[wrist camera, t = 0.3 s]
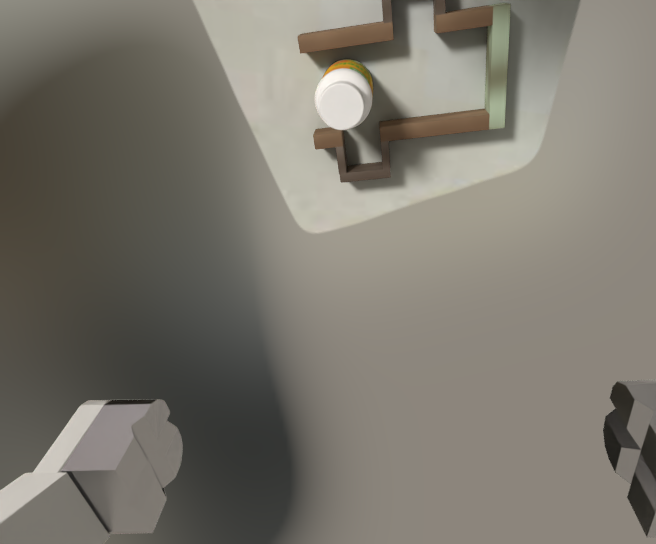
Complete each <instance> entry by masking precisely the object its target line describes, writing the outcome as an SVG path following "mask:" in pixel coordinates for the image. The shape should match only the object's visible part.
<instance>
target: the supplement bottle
mask: <svg viewBox="0 0 656 544" xmlns="http://www.w3.org/2000/svg"><path fill="white" fill-rule="evenodd" d="M372 101H373V81H372V77H371V74H370V72H369V71H368V69H367V68H366V67H365V66H364V65H363V64H361V63H360V62H358V61H355V60H352V59H343V60H339V61H337V62H335V63H334V64H332V65H331V66H330V67H329V68H328V69H327V71H326V72H325V74H324V76H323V77H322V79H321V81H320V82H319V84H318V86H317V89H316V93H315V106H316V110H317V112H318V114H319V116H320V117H321V119H322V120H323V121H324V122H325V123H326V124H327V125H328V126H330V127H331V128H333V129H336V130H347V129H351V128H354V127H356V126H358V125H359V124H361V123H362V122H363V121H364V120H365V119H366V117H367V116H368V114H369V112H370V110H371V107H372Z"/></svg>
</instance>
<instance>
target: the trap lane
mask: <svg viewBox="0 0 656 544" xmlns="http://www.w3.org/2000/svg"><path fill="white" fill-rule="evenodd" d="M433 6H434V31H435V32H436V33H443V32H450V31H457V30H464V29H471V28H477V27H484V26H487V48H486V83H485V109H478V110H470V111H462V112H454V113H445V114H437V115H429V116H421V117H412V118H404V119H396V120H388V121H380V122H379V128H380V140H381V151H382V162H376V163H367V164H358V165H349V166H348V164H347V156H346V148H345V140H344V132H343V130H336V129H333V128H331V127H330V128H322V129H316V130H315V132H314V135H313V137H314V144H315V149H324V148H332V147H336V154H337V161H338V168H339V174H340V180H341V182H351V181H360V180H370V179H380V178H389V177H391V175H390V156H389V143H388V141H393V140H402V139H411V138H419V137H428V136H437V135H445V134H454V133H463V132H472V131H480V130H489V129H498V128H504V127H505V107H506V87H507V67H508V48H509V28H510V8H511V4H508V3H500V4H494V5H487V6H481V7H474V8H467V9H461V10H454V11H448V12H445V0H433ZM382 8H383V22H376V23H369V24H363V25H356V26H350V27H343V28H337V29H330V30H324V31H317V32H311V33H304V34H300V35H299V36H298V42H299V49H300V53H307V52H314V51H321V50H328V49H334V48H341V47H348V46H355V45H362V44H368V43H375V42H382V41H389V40H394V39H393V23H392V8H391V0H382Z"/></svg>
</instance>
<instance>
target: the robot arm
mask: <svg viewBox="0 0 656 544" xmlns="http://www.w3.org/2000/svg"><path fill="white" fill-rule="evenodd" d="M610 399H611V401H612V403H613V405H614V407H615V409H614V410H613V411H612V412H610V413H609V414H608V415H607V416H606V417H605V422H604V428H603V433H604V442H605V448H606V451H607V454H608V458H609V460H610V462H611V465H612V467H613V469H614V471H615V473H617V474H618V475H619V476H620V477H622V478H623V479H625V480H626V481H627V482H629V483H630V484H631V486H630V489H629V493H628V496H627V498H628V500H629V502H630V504H631V506H632V508H633V510H634V512H635V514H636V516H637V518H638V520H639V522H640V524H641V526H642V528H643V531H644V532H645V534H646V536H647V537H653V538H654V537H655V538H656V380H637V381H618V382H616V383H615V385H614V386H613V387H612V391H611V395H610ZM169 414H170V411H169V409H168V407H167V405H166V403H165V401H164V400H159V399H140V400H138V399H136V400H135V399H134V400H132V399H130V400H89V401H87V402H85V403H84V404H82V405H80V407H79V408H78V410H77V411H76V412H75V414H74V415H73V417H72V418H71V419H70V421H69V422H68V424H67V425H66V427H65V428H64V429H63V431H62V432H61V434H60V435H59V436H58V438H57V439H56V441H55V442H54V443H53V445H52V446H51V448H50V449H49V451H48V452H47V453H46V455H45V456H44V458H43V459H42V461H41V462H40V463H39V465H38V466H37V467H36V469H35V470H34V472H33V473H25V474H23V475H22V476H20V477H19V478H17V479H16V480H15V481H13V482H12V483H10V484H9V485H7V486H6V487H5V488H3V489H2V490H0V544H104V543H105V541H106V540H107V539H108V538H109V537H110V535H109V534H128V533H153V531H154V528H155V526H156V524H157V521H158V519H159V516H160V514H161V512H162V509H163V507H164V504H165V502H166V500H167V498H166V494H165V491H164V487H165V486H166V485H167V484H169V483H170V482H171V481H172V480H173V479H174V478H175V477H176V475H177V472H178V469H179V467H180V464H181V459H182V451H183V450H182V449H183V446H182V440H181V435H180V433H179V431H178V428H177V427H175V426H174V425H172V424H171V423H170V422H168V421H167V418H168V416H169Z"/></svg>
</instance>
